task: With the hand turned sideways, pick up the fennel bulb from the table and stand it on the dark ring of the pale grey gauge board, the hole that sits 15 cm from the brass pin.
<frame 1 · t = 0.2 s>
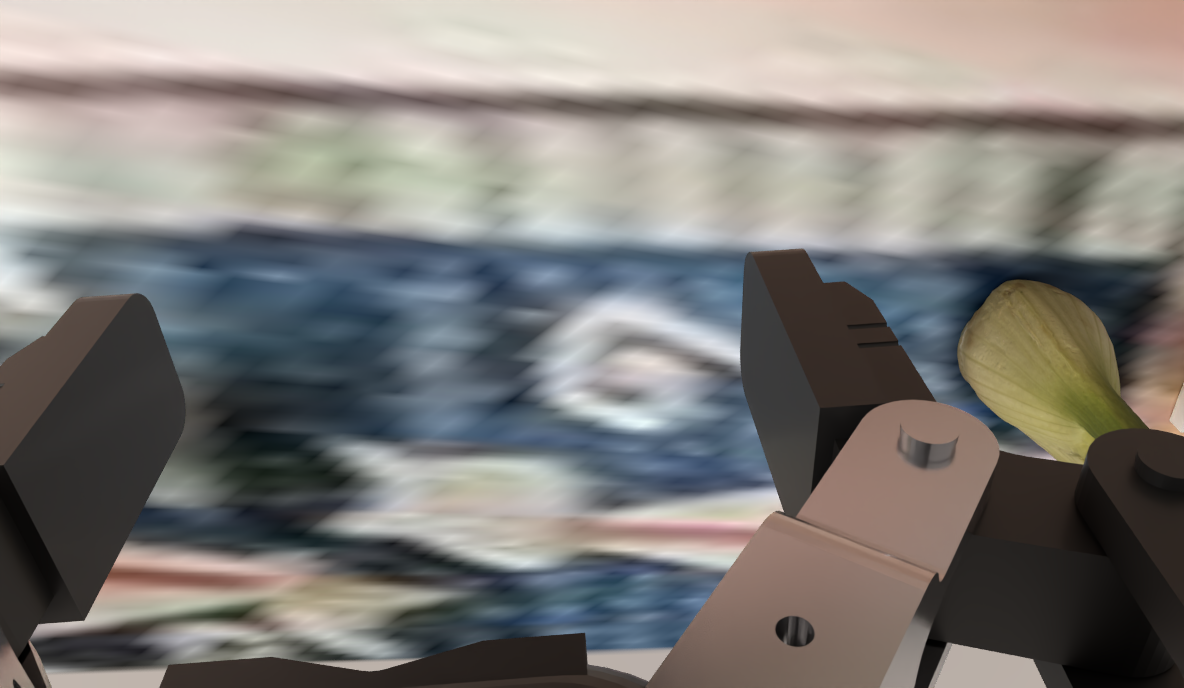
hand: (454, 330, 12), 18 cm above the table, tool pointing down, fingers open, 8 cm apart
fennel bulb: (1007, 319, 36), on the table
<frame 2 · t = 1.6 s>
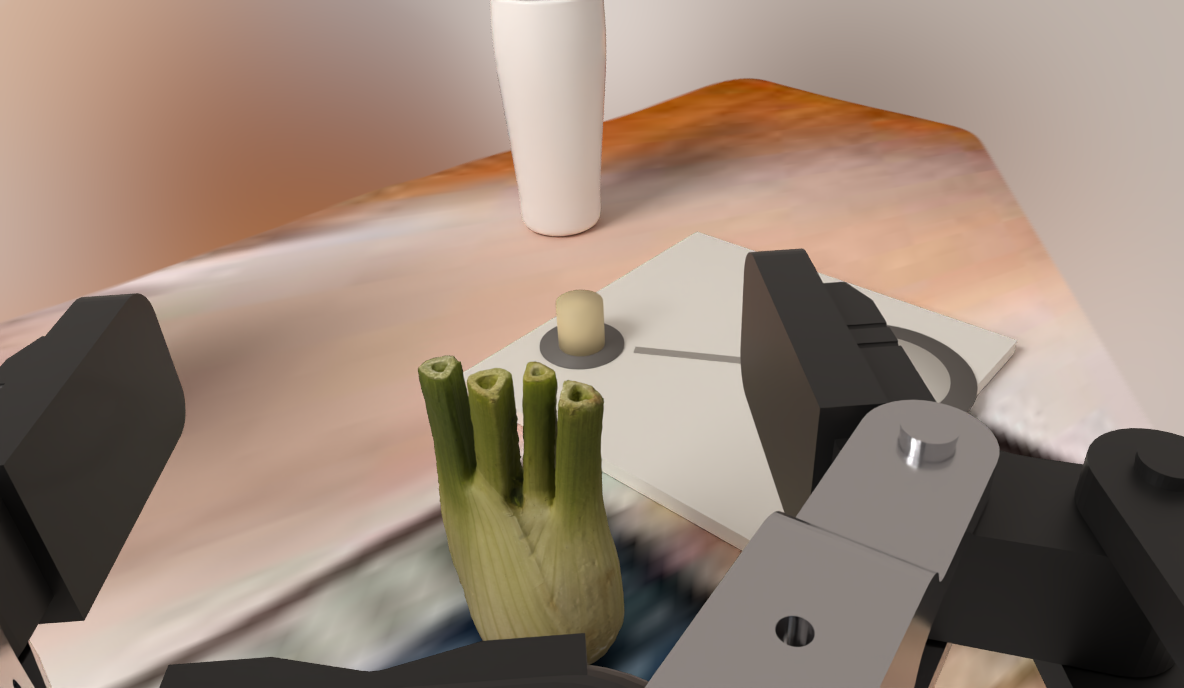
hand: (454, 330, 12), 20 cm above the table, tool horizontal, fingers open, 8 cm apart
fennel bulb: (546, 641, 33), on the table
drinking glass: (561, 224, 61), on the table
gauge board: (737, 371, 46), on the table
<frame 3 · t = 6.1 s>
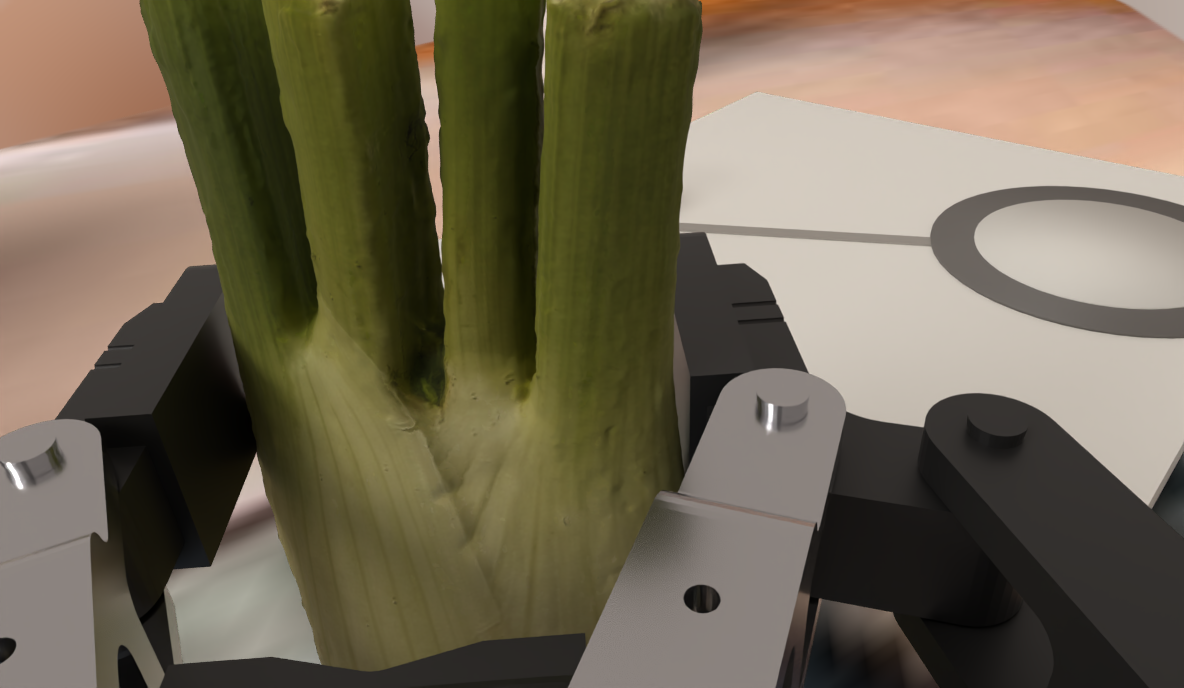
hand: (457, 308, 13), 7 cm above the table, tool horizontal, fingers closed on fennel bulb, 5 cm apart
gauge board: (849, 258, 28), on the table
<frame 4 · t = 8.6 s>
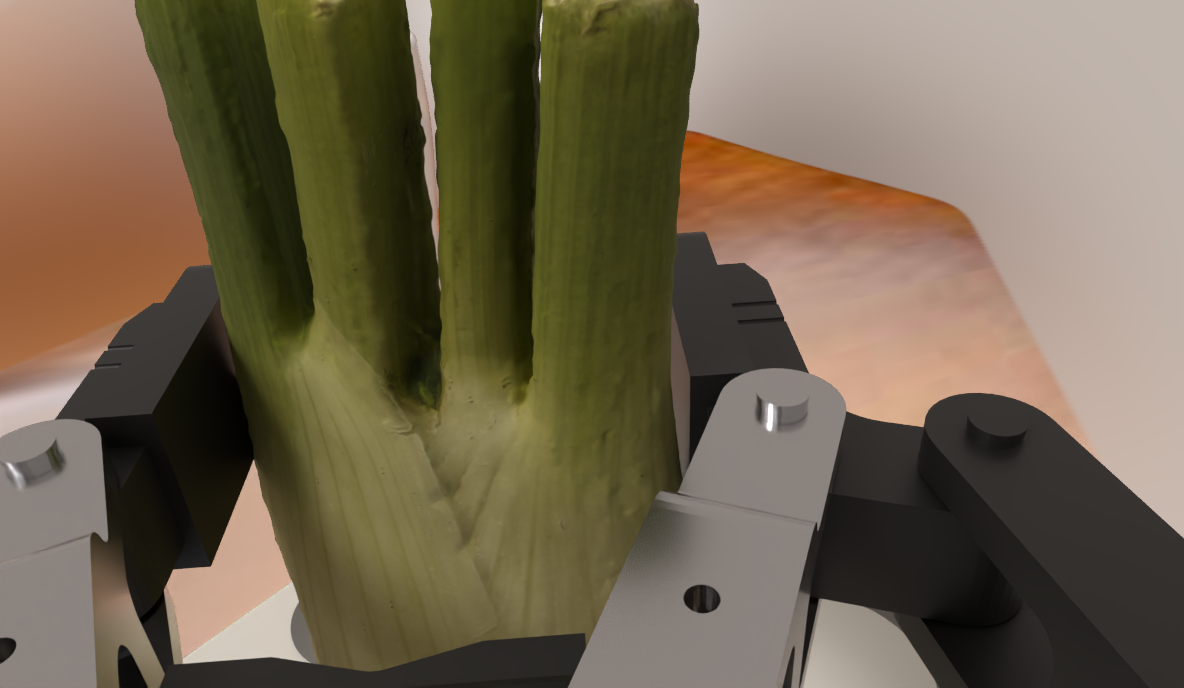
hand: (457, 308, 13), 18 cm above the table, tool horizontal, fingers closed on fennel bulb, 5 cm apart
drinking glass: (395, 362, 44), on the table
gauge board: (601, 661, 29), on the table
when the fingers open (8 cm above the table, at t = 11.5 s): fennel bulb stays where it is, resting on gauge board.
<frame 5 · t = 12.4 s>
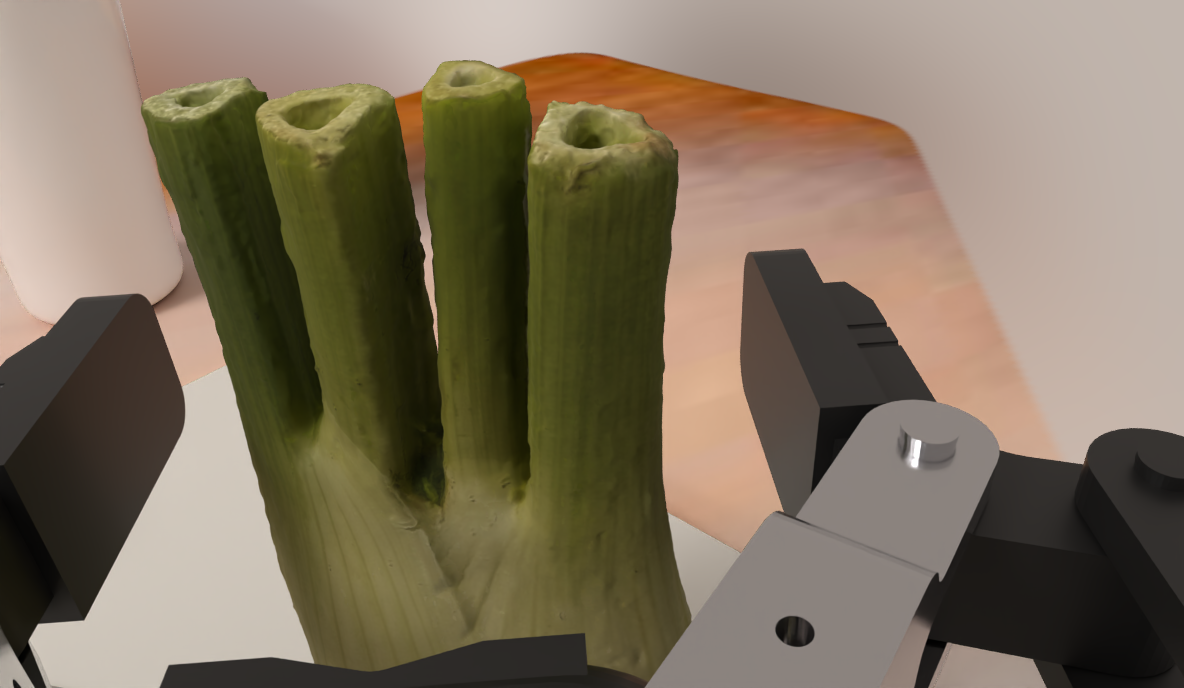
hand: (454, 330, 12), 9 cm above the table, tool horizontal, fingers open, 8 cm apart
drinking glass: (111, 299, 33), on the table
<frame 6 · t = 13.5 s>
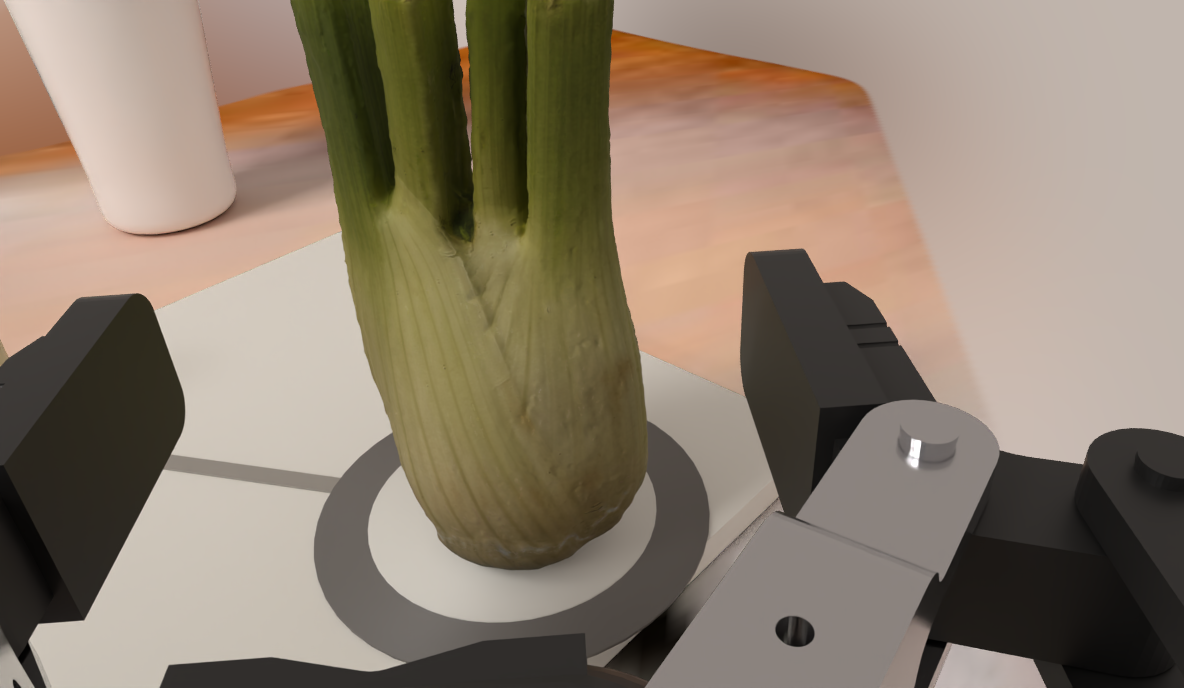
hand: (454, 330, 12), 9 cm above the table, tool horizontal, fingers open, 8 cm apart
fennel bulb: (524, 516, 21), point 1 cm above the table, touching gauge board
drinking glass: (176, 216, 39), on the table
gauge board: (268, 493, 23), on the table
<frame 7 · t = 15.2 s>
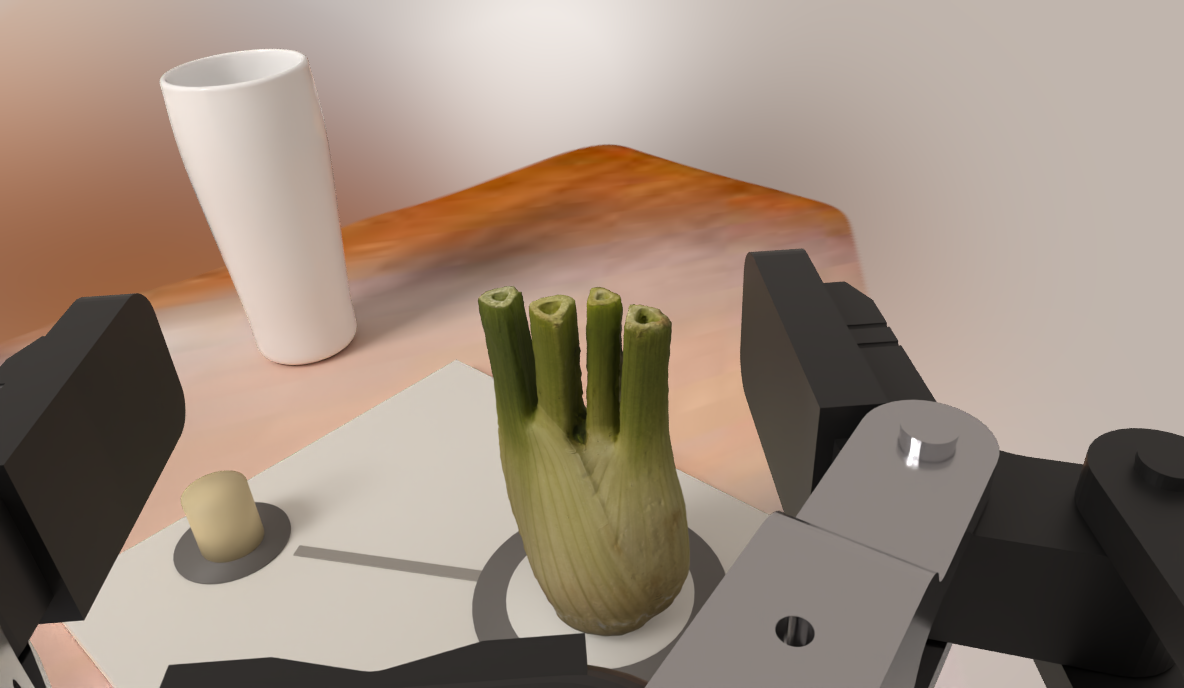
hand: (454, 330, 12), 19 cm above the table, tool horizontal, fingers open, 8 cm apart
fennel bulb: (607, 597, 32), point 1 cm above the table, touching gauge board
drinking glass: (310, 346, 50), on the table
gauge board: (429, 580, 34), on the table
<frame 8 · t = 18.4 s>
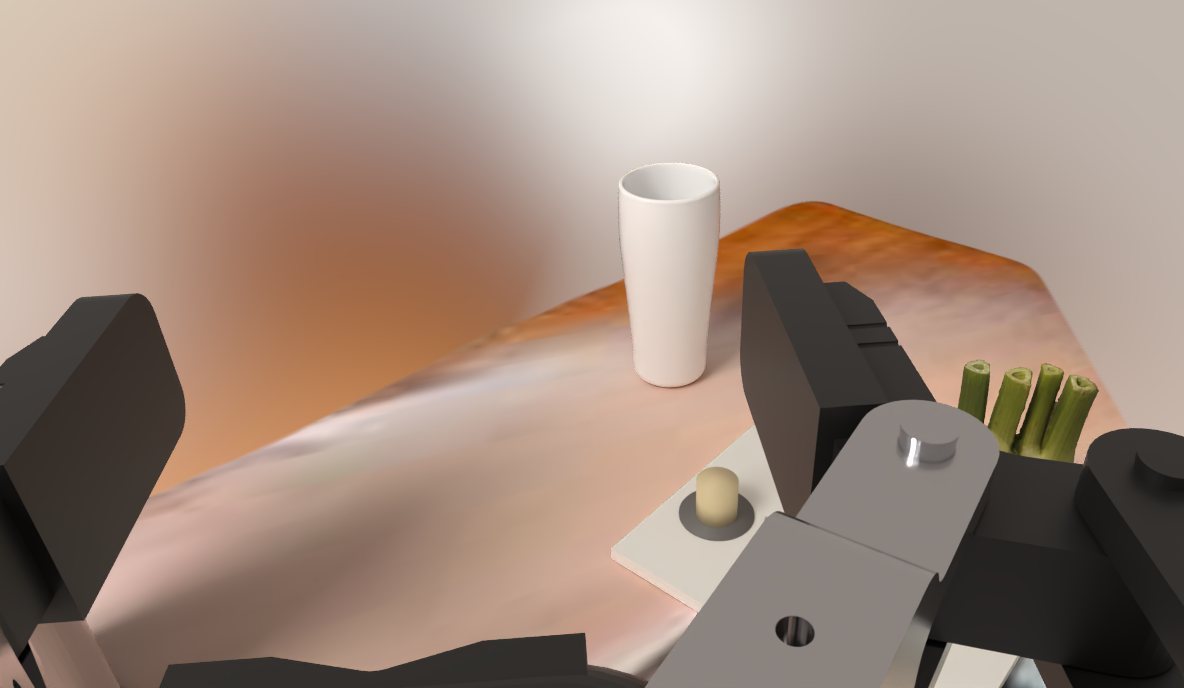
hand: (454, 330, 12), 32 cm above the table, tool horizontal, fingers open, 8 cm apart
fennel bulb: (990, 550, 50), point 1 cm above the table, touching gauge board
drinking glass: (669, 372, 68), on the table
gauge board: (857, 540, 52), on the table
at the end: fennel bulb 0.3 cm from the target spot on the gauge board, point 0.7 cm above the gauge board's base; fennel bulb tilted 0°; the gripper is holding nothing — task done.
